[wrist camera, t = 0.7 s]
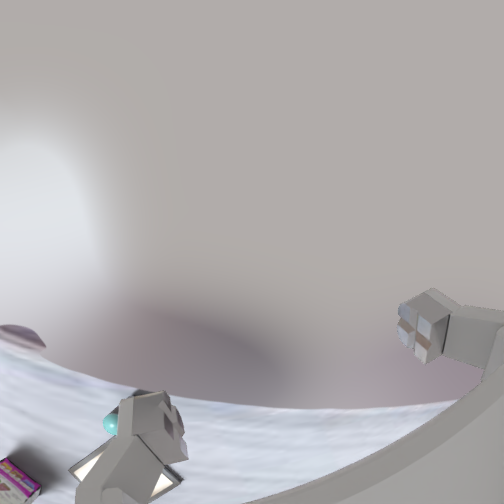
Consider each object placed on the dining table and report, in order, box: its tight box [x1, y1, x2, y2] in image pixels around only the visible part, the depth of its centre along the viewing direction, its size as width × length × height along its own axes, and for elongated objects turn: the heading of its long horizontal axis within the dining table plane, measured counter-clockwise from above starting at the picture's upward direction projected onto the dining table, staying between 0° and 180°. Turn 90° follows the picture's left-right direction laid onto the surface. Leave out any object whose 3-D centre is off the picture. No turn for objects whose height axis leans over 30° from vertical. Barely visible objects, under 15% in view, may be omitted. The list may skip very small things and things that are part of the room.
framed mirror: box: [68, 435, 181, 503], centre depth 45 cm, size 15×19×1 cm
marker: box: [103, 396, 135, 435], centre depth 43 cm, size 3×3×13 cm
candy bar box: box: [0, 458, 41, 504], centre depth 34 cm, size 11×5×16 cm, turn 63°
